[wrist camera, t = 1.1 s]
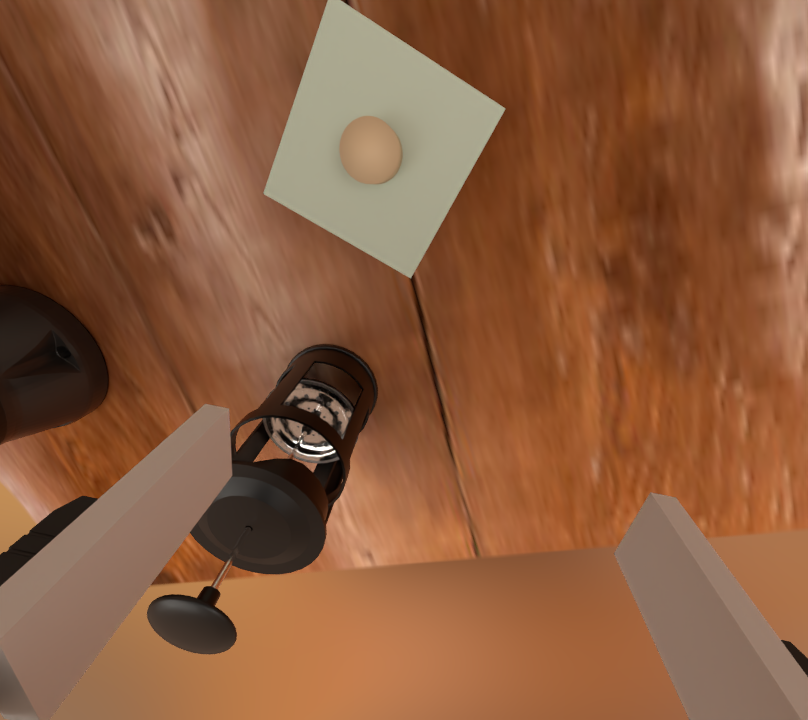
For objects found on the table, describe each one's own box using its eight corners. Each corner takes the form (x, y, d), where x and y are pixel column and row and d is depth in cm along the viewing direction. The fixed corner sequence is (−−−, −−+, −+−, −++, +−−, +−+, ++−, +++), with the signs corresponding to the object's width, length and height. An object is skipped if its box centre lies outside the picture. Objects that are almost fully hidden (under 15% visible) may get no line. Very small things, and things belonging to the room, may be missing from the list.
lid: (282, 193, 25) (246, 194, 20) (344, 17, 21) (317, -29, 16) (414, 269, 26) (407, 285, 21) (499, 117, 22) (511, 100, 17)
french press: (269, 347, 36) (31, 559, 16) (360, 329, 35) (228, 542, 14) (309, 444, 41) (166, 710, 20) (392, 433, 39) (328, 712, 18)
